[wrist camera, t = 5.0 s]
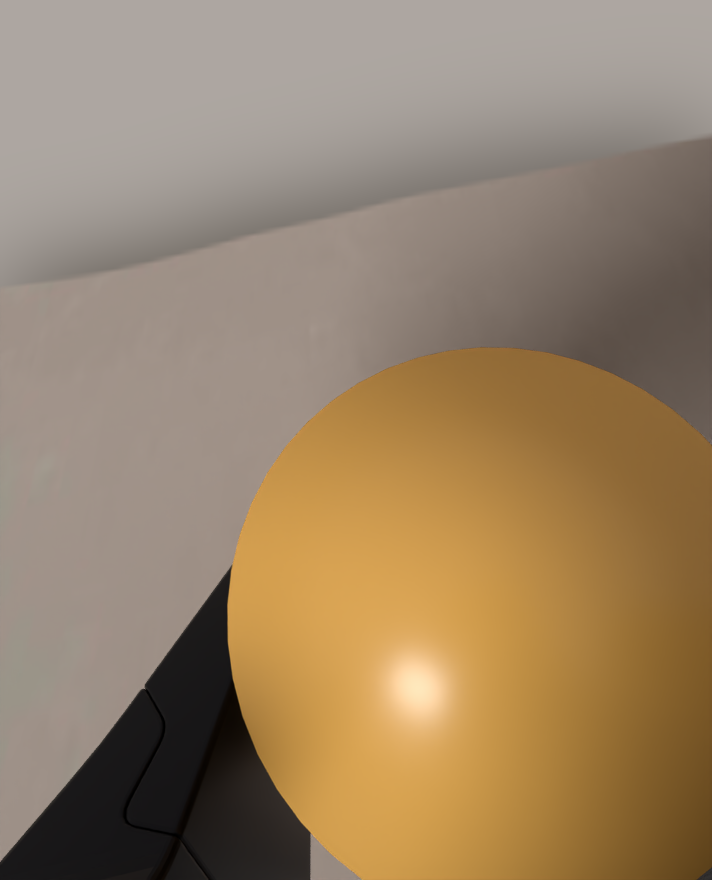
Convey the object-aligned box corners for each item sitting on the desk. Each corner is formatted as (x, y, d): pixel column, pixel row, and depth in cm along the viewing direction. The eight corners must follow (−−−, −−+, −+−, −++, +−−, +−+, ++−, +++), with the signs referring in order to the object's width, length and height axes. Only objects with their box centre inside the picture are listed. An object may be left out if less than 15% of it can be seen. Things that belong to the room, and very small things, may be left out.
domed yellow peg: (401, 719, 14) (384, 1207, 3) (318, 567, 16) (71, 490, 4) (545, 627, 15) (1048, 746, 3) (452, 486, 16) (576, 200, 4)
